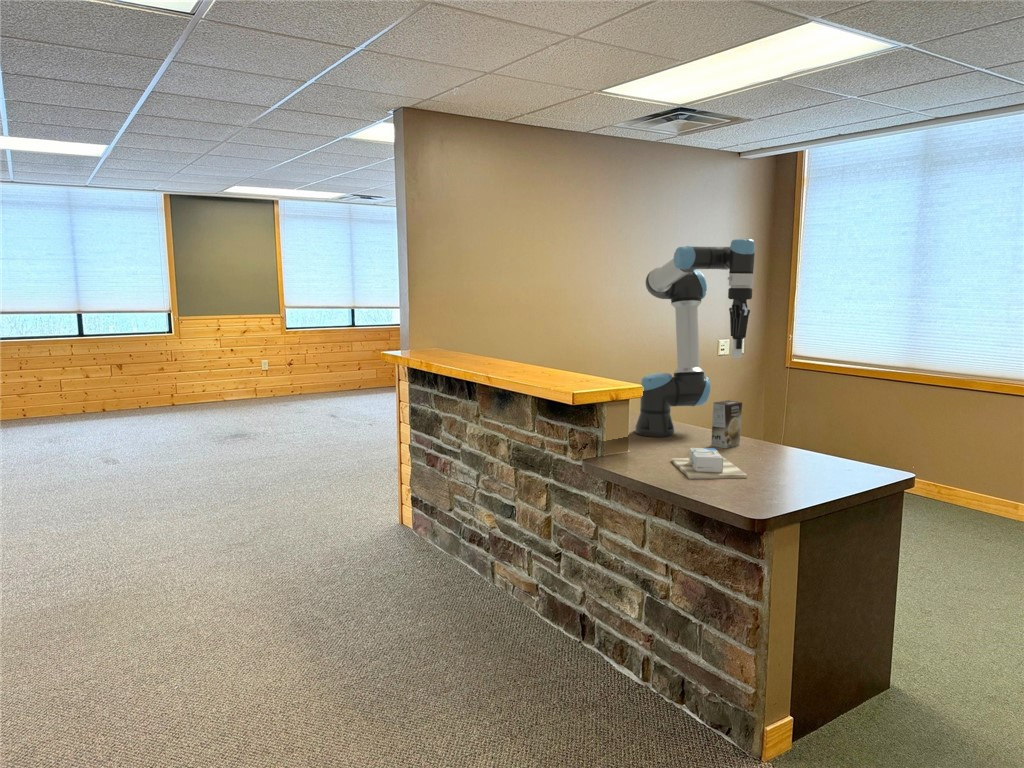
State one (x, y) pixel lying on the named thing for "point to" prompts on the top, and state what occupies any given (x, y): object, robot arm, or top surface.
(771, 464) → the top surface
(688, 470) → the cloth
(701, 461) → the ink box
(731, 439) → the coffee box
